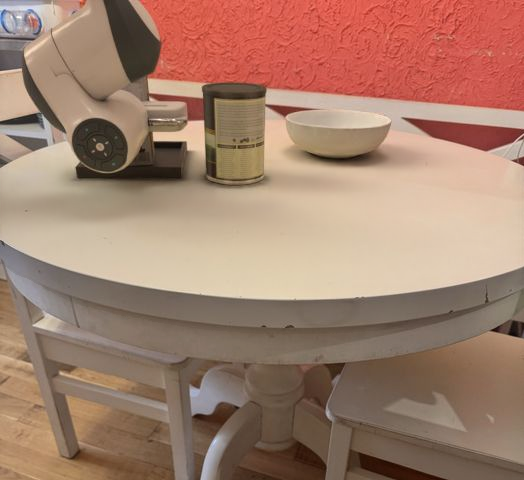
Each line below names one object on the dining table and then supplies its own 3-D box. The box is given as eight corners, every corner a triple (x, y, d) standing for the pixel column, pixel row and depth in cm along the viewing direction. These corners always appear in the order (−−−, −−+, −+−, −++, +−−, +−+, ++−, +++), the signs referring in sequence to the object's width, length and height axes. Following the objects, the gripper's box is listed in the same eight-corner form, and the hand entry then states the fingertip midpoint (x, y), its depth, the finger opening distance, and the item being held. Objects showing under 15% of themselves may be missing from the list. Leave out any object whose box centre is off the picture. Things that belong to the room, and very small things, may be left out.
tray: (77, 177, 85) (75, 166, 84) (99, 150, 101) (98, 140, 100) (181, 178, 86) (181, 167, 85) (187, 150, 102) (186, 141, 101)
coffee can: (193, 177, 86) (188, 86, 78) (230, 165, 93) (229, 80, 85) (240, 189, 81) (240, 93, 73) (275, 175, 88) (279, 86, 80)
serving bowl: (356, 139, 114) (360, 106, 110) (405, 163, 97) (412, 125, 94) (270, 144, 108) (271, 109, 104) (307, 170, 92) (310, 130, 88)
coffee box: (121, 153, 96) (108, 57, 87) (155, 153, 97) (146, 58, 88) (118, 166, 89) (103, 62, 80) (154, 165, 90) (144, 63, 80)
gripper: (185, 100, 76) (189, 88, 88) (48, 99, 75) (70, 86, 86) (188, 144, 80) (191, 126, 91) (57, 143, 78) (77, 125, 90)
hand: (132, 107), depth 89 cm, fingers closed on coffee box, 6 cm apart
